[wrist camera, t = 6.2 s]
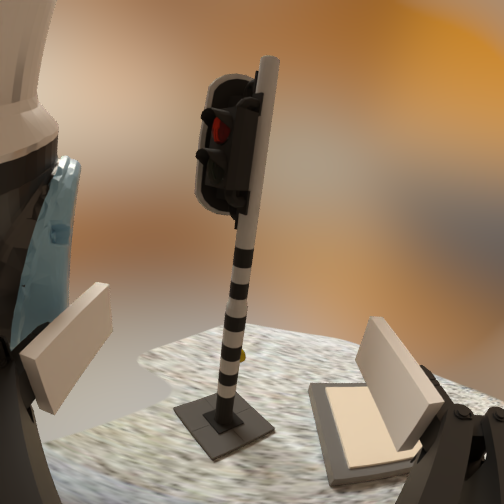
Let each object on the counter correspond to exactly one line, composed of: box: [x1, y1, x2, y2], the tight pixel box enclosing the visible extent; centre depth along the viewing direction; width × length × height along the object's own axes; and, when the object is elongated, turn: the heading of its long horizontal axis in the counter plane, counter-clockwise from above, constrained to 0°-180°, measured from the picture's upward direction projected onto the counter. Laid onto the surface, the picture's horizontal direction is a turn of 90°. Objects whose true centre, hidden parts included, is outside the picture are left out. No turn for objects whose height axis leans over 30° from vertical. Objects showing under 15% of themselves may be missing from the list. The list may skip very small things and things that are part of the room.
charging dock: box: [308, 383, 422, 486], centre depth 25 cm, size 15×13×2 cm
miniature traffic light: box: [174, 56, 280, 460], centre depth 21 cm, size 8×8×30 cm
